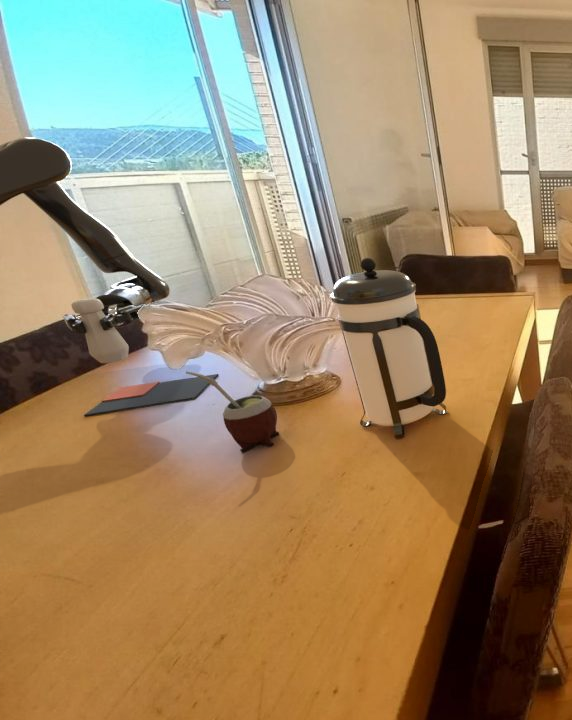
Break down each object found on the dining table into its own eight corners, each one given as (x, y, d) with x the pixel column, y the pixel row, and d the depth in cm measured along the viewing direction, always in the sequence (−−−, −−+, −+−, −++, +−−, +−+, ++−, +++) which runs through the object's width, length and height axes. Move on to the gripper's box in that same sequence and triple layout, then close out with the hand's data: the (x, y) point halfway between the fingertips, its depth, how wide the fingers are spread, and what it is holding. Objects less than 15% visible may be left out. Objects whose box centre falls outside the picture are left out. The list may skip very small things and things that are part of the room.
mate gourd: (293, 436, 84) (266, 358, 78) (247, 460, 77) (213, 377, 71) (266, 428, 87) (237, 353, 81) (219, 452, 80) (184, 371, 74)
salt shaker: (87, 363, 98) (55, 303, 92) (120, 353, 103) (91, 295, 97) (108, 366, 96) (76, 304, 91) (140, 355, 101) (112, 296, 96)
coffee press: (347, 449, 79) (293, 272, 68) (373, 405, 94) (333, 253, 82) (454, 435, 82) (420, 263, 71) (463, 394, 97) (437, 246, 85)
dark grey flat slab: (84, 416, 94) (83, 413, 93) (121, 389, 105) (120, 387, 105) (195, 399, 99) (194, 396, 99) (218, 375, 110) (217, 373, 110)
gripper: (68, 295, 103) (31, 316, 89) (153, 285, 109) (130, 303, 96) (85, 328, 106) (51, 352, 92) (166, 316, 112) (146, 337, 99)
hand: (91, 327), depth 94 cm, fingers closed on salt shaker, 3 cm apart
